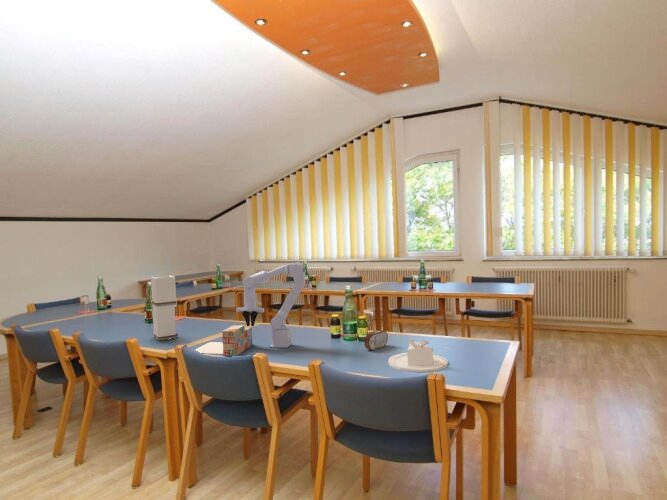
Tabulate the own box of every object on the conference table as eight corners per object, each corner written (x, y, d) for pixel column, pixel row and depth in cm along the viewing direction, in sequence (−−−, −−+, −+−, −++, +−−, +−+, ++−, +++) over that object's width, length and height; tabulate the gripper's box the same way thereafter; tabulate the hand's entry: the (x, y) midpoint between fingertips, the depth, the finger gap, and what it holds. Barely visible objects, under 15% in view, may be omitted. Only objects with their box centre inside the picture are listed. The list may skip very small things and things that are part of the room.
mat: (240, 343, 226) (240, 342, 226) (222, 354, 206) (222, 353, 206) (209, 342, 230) (209, 342, 230) (188, 353, 210) (188, 352, 210)
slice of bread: (384, 344, 214) (383, 327, 213) (389, 345, 211) (388, 328, 211) (364, 351, 203) (363, 333, 203) (369, 352, 201) (368, 334, 201)
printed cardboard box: (241, 344, 224) (240, 321, 224) (252, 344, 223) (251, 321, 223) (223, 356, 203) (222, 330, 203) (235, 356, 202) (234, 330, 202)
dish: (456, 370, 171) (456, 342, 171) (395, 374, 169) (394, 346, 169) (437, 353, 196) (436, 329, 195) (383, 356, 194) (382, 332, 193)
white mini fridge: (178, 337, 244) (175, 276, 243) (158, 341, 238) (155, 278, 237) (173, 334, 253) (170, 275, 252) (154, 337, 247) (150, 277, 246)
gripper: (233, 300, 217) (234, 327, 217) (260, 301, 213) (260, 328, 214) (239, 298, 223) (240, 324, 224) (265, 299, 220) (266, 325, 221)
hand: (250, 325), depth 219 cm, fingers closed
